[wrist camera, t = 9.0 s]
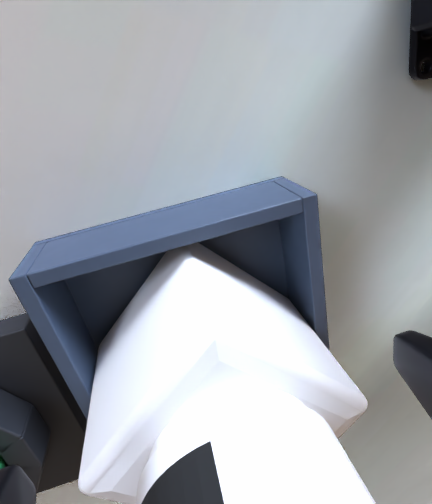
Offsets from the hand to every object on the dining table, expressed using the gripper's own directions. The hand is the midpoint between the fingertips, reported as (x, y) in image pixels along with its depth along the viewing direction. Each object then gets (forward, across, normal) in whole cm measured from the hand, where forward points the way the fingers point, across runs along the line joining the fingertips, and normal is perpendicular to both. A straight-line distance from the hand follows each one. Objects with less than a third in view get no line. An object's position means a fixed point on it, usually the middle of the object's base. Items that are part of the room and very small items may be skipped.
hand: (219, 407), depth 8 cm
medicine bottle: (+9, 0, +4) cm, 10 cm away
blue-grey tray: (+9, 0, +4) cm, 10 cm away
